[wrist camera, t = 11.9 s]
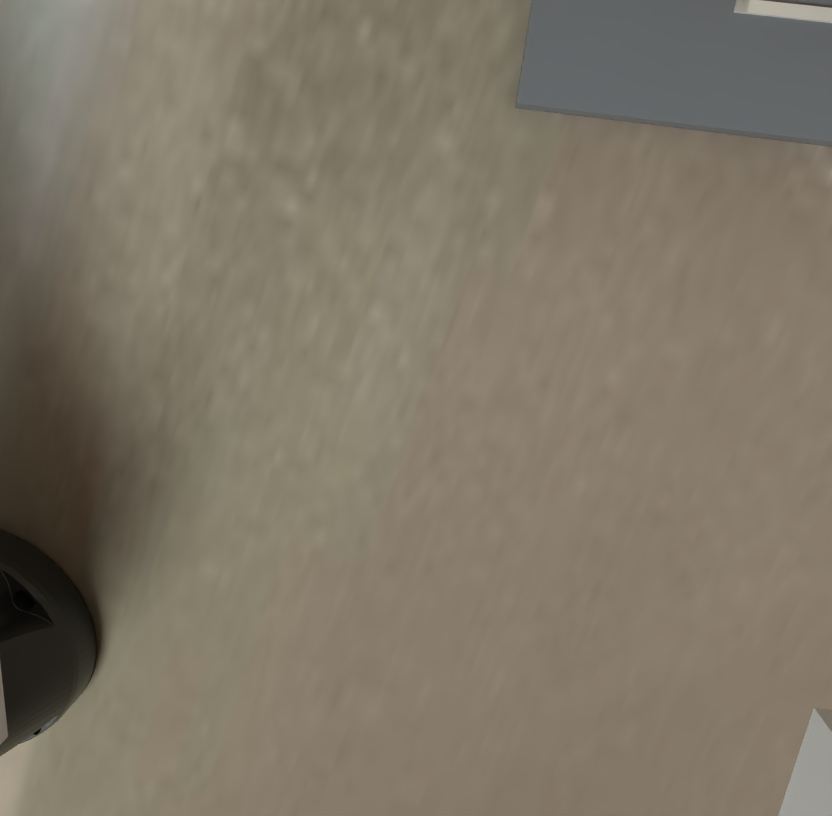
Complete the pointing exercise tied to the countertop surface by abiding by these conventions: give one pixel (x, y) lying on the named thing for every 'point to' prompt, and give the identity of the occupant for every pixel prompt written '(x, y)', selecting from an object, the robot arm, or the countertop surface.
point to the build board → (685, 64)
